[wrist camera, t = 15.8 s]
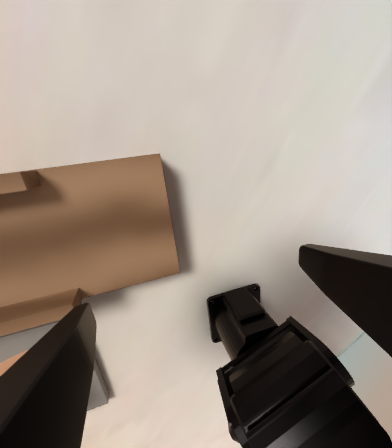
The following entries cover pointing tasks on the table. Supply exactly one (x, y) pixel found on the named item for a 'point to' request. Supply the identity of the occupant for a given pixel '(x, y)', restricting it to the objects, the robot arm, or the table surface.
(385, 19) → the table surface
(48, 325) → the mat
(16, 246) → the divided wooden tray
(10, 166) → the table surface
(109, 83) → the table surface
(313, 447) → the robot arm
